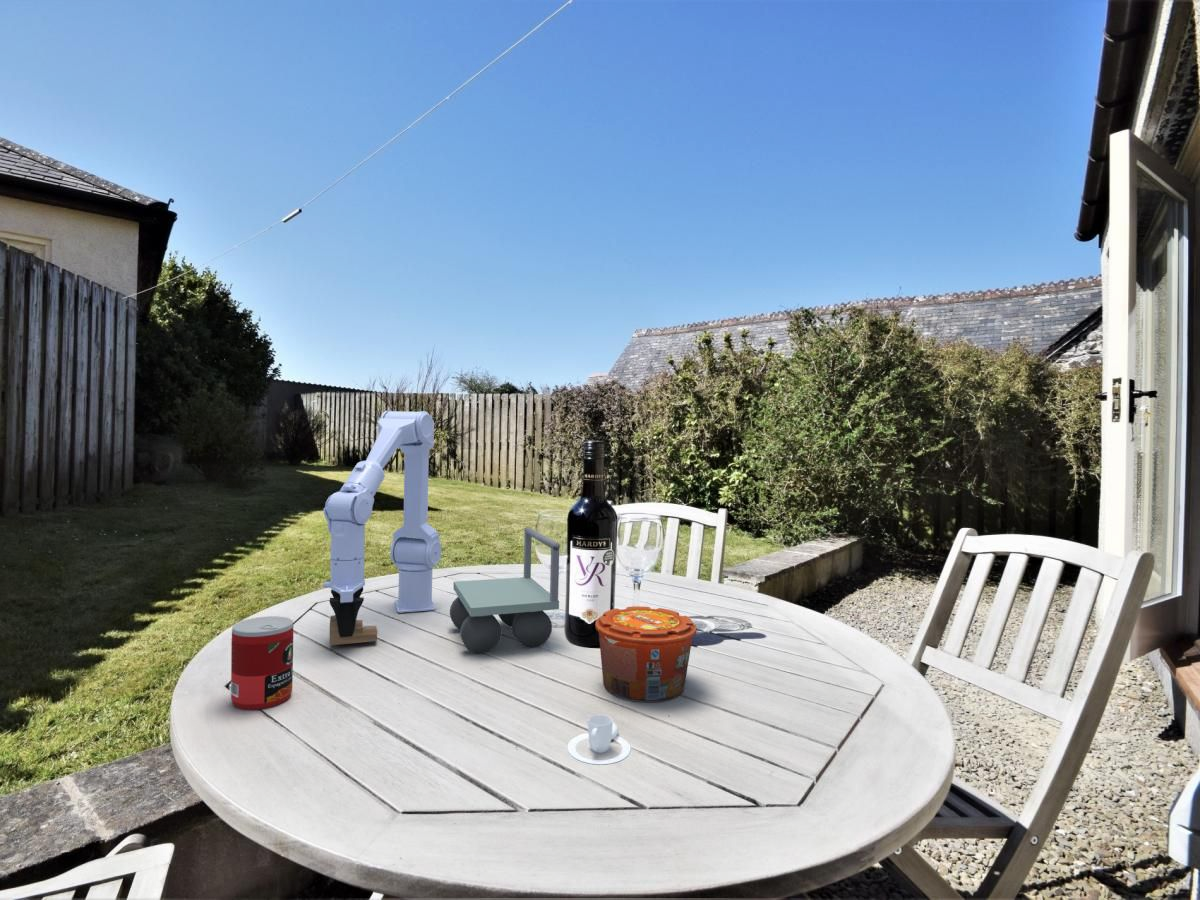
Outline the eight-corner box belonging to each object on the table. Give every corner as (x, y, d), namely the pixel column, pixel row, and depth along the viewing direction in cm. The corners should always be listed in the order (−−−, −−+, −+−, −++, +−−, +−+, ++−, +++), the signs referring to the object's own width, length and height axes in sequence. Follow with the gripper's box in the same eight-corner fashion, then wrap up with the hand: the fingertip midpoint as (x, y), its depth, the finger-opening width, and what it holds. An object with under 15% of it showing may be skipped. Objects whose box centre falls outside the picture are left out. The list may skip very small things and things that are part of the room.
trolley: (447, 626, 125) (449, 529, 124) (529, 618, 131) (531, 526, 131) (464, 660, 106) (466, 546, 106) (557, 650, 113) (560, 542, 112)
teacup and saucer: (598, 728, 84) (599, 698, 84) (646, 747, 79) (647, 716, 79) (554, 752, 77) (555, 720, 77) (603, 776, 72) (604, 741, 72)
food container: (709, 680, 100) (711, 615, 100) (669, 718, 86) (671, 642, 86) (623, 660, 108) (625, 599, 108) (574, 691, 95) (575, 622, 94)
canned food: (274, 711, 85) (276, 633, 85) (218, 709, 85) (218, 631, 85) (302, 689, 93) (303, 616, 93) (250, 687, 93) (251, 615, 93)
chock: (330, 636, 114) (330, 615, 114) (376, 632, 117) (376, 611, 117) (329, 645, 109) (329, 623, 109) (377, 640, 112) (377, 619, 112)
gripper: (325, 551, 118) (324, 621, 118) (321, 567, 104) (320, 646, 104) (364, 549, 120) (363, 618, 121) (366, 564, 107) (365, 642, 107)
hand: (346, 631), depth 113 cm, fingers closed on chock, 5 cm apart
